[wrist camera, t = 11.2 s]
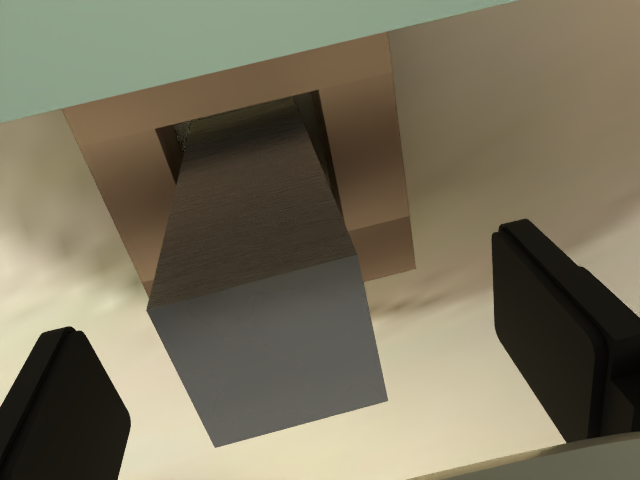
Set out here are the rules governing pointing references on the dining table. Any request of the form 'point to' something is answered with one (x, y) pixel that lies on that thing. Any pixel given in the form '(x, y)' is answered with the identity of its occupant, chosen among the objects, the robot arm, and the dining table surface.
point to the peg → (262, 281)
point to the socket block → (246, 90)
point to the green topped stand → (173, 41)
